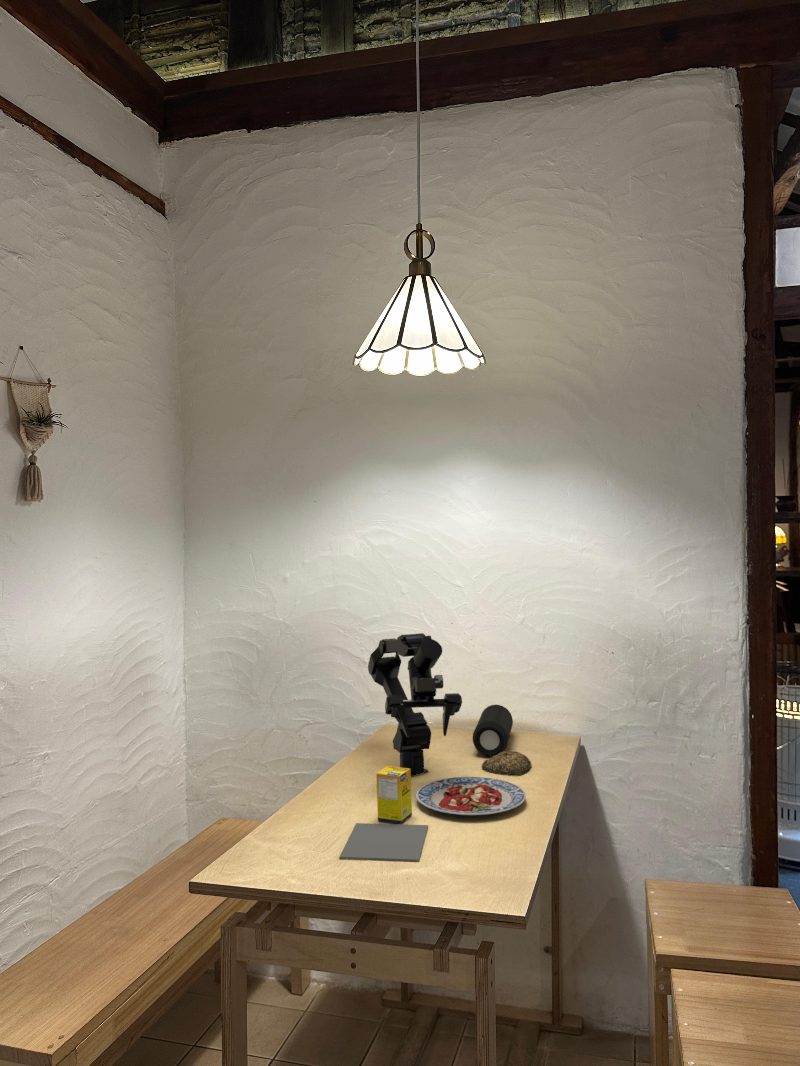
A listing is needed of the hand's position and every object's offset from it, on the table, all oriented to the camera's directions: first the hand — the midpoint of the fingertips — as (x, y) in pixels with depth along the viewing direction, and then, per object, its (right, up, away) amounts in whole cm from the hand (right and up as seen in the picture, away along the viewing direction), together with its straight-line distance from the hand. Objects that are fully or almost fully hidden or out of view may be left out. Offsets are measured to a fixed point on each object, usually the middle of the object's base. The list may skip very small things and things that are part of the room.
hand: (426, 736), depth 200 cm
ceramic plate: (+10, -15, -5) cm, 19 cm away
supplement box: (-8, -15, -15) cm, 22 cm away
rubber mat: (-9, -15, -28) cm, 33 cm away
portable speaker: (+21, -13, +41) cm, 48 cm away
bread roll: (+23, -14, +20) cm, 33 cm away
